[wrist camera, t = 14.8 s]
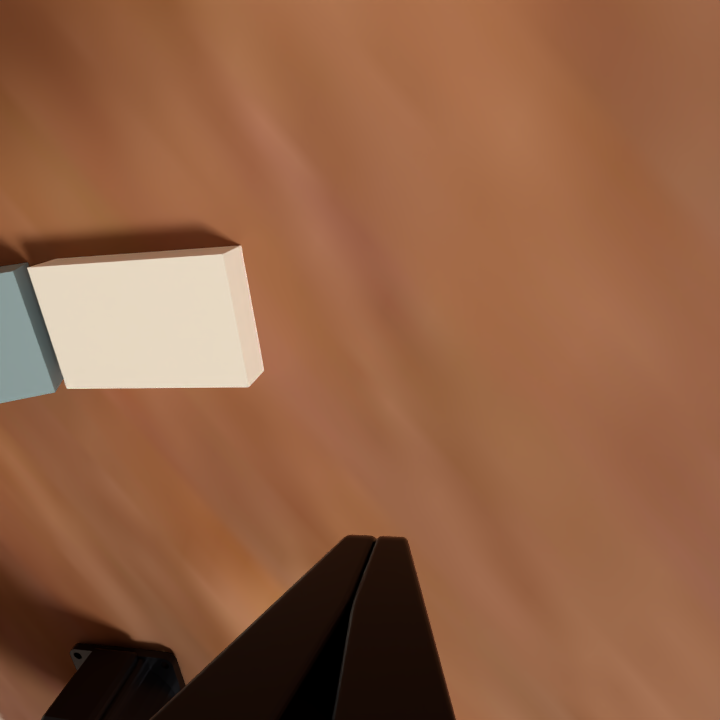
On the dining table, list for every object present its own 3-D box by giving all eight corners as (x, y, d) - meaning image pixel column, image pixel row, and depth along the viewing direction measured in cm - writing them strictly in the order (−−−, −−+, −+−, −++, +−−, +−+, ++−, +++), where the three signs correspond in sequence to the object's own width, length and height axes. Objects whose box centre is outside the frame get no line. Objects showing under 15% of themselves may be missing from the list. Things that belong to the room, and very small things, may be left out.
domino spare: (223, 254, 19) (26, 267, 21) (249, 387, 21) (66, 388, 22) (245, 242, 21) (63, 256, 22) (268, 366, 22) (98, 369, 24)
